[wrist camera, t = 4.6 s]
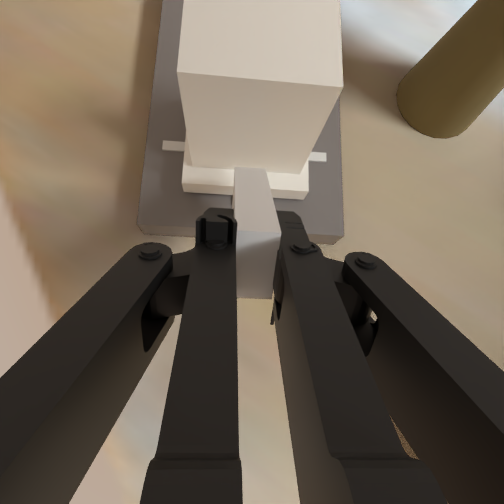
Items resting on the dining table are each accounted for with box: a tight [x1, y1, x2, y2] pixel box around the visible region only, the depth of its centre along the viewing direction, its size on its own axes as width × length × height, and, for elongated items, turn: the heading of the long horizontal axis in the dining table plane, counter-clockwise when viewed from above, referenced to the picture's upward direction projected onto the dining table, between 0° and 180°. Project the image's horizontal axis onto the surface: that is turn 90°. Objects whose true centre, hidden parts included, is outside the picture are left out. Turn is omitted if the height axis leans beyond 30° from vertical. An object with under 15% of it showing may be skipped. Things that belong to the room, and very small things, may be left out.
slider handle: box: [177, 0, 343, 200], centre depth 17 cm, size 6×7×8 cm
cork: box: [396, 0, 504, 138], centre depth 20 cm, size 6×6×11 cm
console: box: [137, 0, 344, 244], centre depth 23 cm, size 22×12×2 cm, turn 178°
